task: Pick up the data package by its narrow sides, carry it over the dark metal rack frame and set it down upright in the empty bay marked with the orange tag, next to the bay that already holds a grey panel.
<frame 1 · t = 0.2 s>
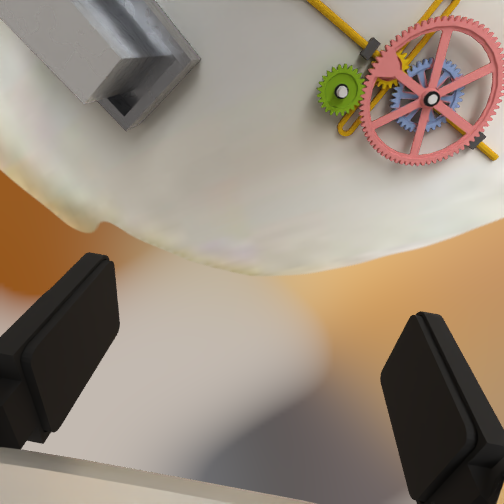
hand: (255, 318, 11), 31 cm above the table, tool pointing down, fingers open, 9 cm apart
mechanical gear assembly: (390, 68, 34), on the table
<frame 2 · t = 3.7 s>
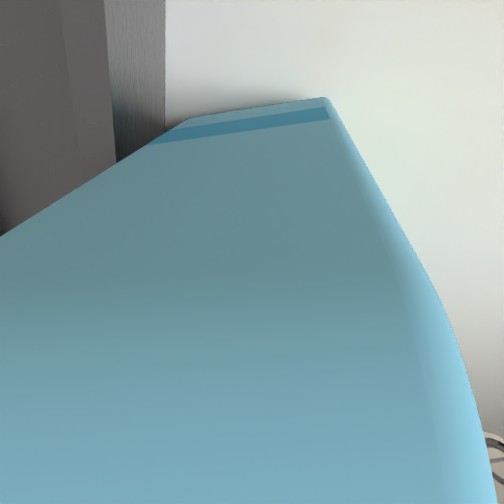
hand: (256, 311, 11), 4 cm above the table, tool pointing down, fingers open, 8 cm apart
rack: (64, 276, 16), on the table
data package: (280, 250, 14), on the table
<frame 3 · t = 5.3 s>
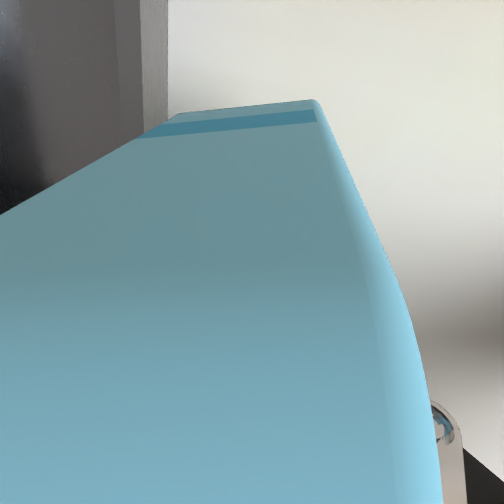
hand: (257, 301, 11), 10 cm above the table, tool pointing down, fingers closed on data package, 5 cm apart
rack: (90, 211, 22), on the table
data package: (266, 248, 15), point 7 cm above the table, touching gripper
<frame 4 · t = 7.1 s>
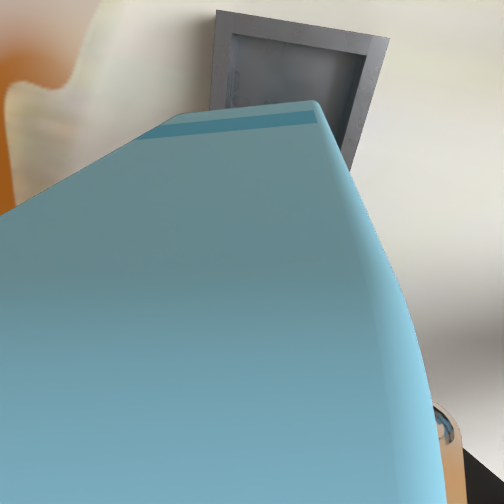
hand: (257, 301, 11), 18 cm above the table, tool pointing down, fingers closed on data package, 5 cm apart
rack: (262, 240, 31), on the table
data package: (265, 249, 15), point 15 cm above the table, touching gripper
when the fingers open (5 cm above the table, at t = 10.2 s): data package stays where it is, resting on rack.
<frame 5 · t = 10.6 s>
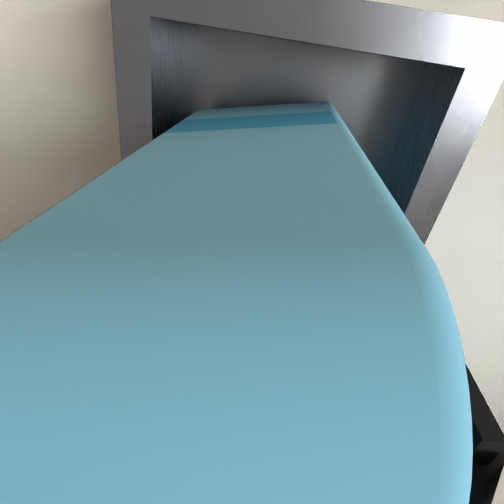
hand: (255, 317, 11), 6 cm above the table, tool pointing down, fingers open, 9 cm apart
rack: (245, 351, 20), on the table
data package: (272, 242, 15), point 1 cm above the table, touching rack
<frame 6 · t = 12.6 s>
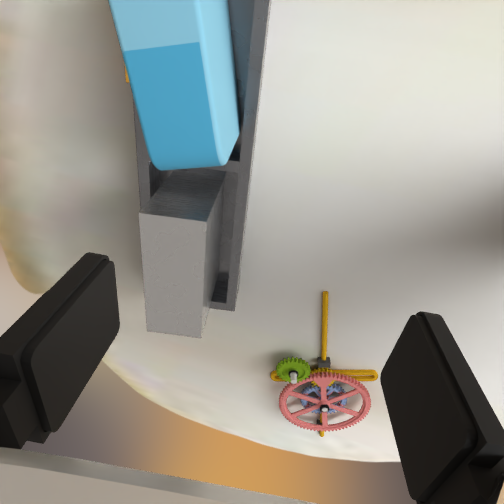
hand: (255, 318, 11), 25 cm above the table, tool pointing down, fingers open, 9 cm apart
rack: (202, 149, 33), on the table
data package: (207, 56, 28), point 1 cm above the table, touching rack
mechanical gear assembly: (322, 369, 49), on the table
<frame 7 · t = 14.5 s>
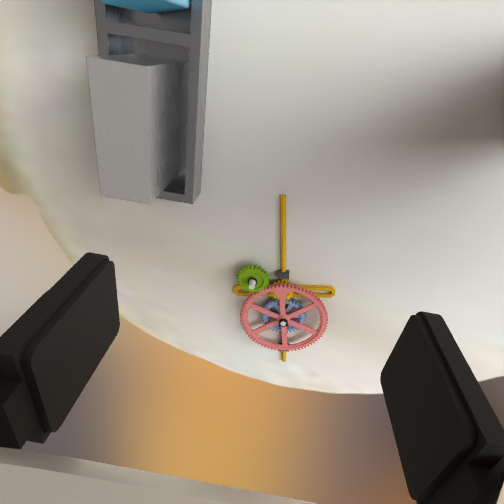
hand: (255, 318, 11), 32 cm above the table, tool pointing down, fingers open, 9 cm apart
rack: (161, 34, 35), on the table
mechanical gear assembly: (283, 286, 51), on the table
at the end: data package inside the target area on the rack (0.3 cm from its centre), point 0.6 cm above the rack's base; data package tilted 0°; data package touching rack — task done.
